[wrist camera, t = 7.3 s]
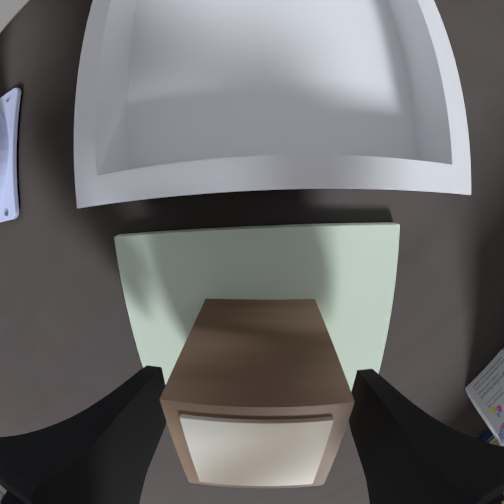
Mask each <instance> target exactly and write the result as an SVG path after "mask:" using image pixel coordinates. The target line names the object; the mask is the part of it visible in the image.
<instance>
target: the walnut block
mask: <svg viewBox="0 0 504 504" xmlns="http://www.w3.org/2000/svg"><path fill="white" fill-rule="evenodd" d="M160 402H161V406H162V409H163V412H164V415H165V419H166V422H167V425H168V428H169V431H170V434H171V436H172V439H173V442H174V445H175V448H176V450H177V453H178V456H179V458H180V461H181V463H182V466H183V468H184V471H185V473H186V476H187V478H188V480H189V482H190V483H197V484H205V485H213V486H224V487H239V488H292V487H306V486H317V485H323V484H324V482H325V480H326V478H327V475H328V473H329V471H330V468H331V466H332V464H333V461H334V459H335V456H336V454H337V451H338V449H339V446H340V443H341V441H342V438H343V435H344V433H345V430H346V427H347V424H348V421H349V418H350V415H351V412H352V409H353V406H354V402H355V401H354V399H353V396H352V393H351V390H350V388H349V385H348V382H347V379H346V377H345V374H344V371H343V369H342V366H341V363H340V361H339V358H338V356H337V353H336V350H335V348H334V345H333V343H332V340H331V338H330V335H329V333H328V330H327V328H326V325H325V323H324V320H323V318H322V315H321V313H320V310H319V308H318V305H317V303H316V300H315V299H286V300H259V299H205V301H204V303H203V305H202V308H201V310H200V312H199V314H198V316H197V318H196V320H195V322H194V325H193V327H192V329H191V331H190V333H189V335H188V337H187V340H186V342H185V344H184V346H183V348H182V350H181V353H180V355H179V357H178V359H177V361H176V364H175V366H174V368H173V370H172V372H171V375H170V377H169V379H168V381H167V383H166V386H165V388H164V390H163V392H162V395H161V397H160Z"/></svg>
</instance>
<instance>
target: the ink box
mask: <svg viewBox="0 0 504 504" xmlns="http://www.w3.org/2000/svg"><path fill="white" fill-rule="evenodd" d="M465 390H466V392H467V394H468V396H469V398H470V400H471V402H472V404H473V405H474V407H475V409H476V410H477V411H478V413H479V414H480V416H481V417H482V419H483V420H484V421H485V423H486V424H487V426H488V427H489V429H490V430H491V432H492V433H493V435H494V436H495V437H496V439H497V440H498V442H499V444H500V445H501V446H504V347H503V348H502V349H501V350H500V352H499V353H498V354H497V355H496V356H495V357H494V358H493V360H492V361H491V362H490V363H489V364H488V365H487V366H486V367H485V368H484V369H483V370H482V372H481V373H480V374H479V375H478V376H477V377H476V378H475V379H474V380H473V381H472V382H471V383H469V384H468V385H467V386H466V387H465Z"/></svg>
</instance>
